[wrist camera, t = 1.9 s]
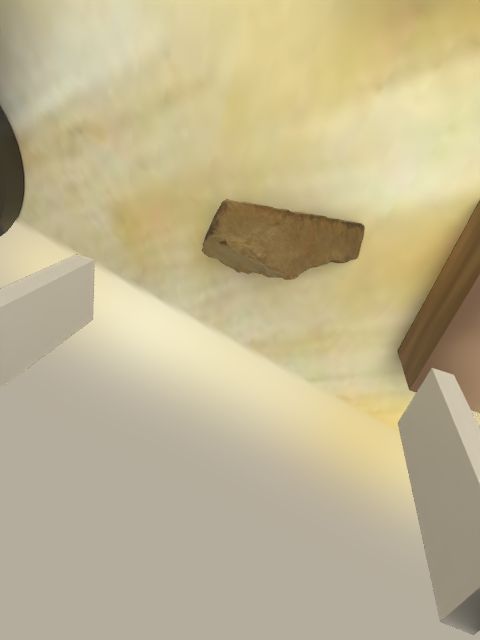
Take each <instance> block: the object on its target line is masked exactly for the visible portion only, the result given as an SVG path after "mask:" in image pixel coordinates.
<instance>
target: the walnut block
mask: <svg viewBox="0 0 480 640" xmlns="http://www.w3.org/2000/svg"><path fill="white" fill-rule="evenodd" d="M398 353H399V357H400V360H401V363H402V367H403V370H404V374H405V377H406V380H407V384H408V387H409V390H411V391H414V392H417V391H418V389H419V388H420V386H421V385H422V383H423V381H424V380H425V378H426V377H427V375H428V373H429V372H430V370H431V368H434V369H437V370H440V371H443V372H446V373H450V374H453V375H454V376H455V378H456V380H457V382H458V384H459V386H460V389H461V391H462V393H463V395H464V397H465V399H466V401H467V403H468V405H469V407H470V409H471V410H473V411H476V412H479V413H480V202H479V204H478V205H477V207H476V209H475V211H474V213H473V215H472V216H471V218H470V220H469V222H468V224H467V226H466V227H465V229H464V231H463V233H462V235H461V237H460V238H459V240H458V242H457V244H456V246H455V247H454V249H453V251H452V253H451V255H450V257H449V258H448V260H447V262H446V264H445V266H444V268H443V269H442V271H441V273H440V275H439V277H438V279H437V280H436V282H435V284H434V286H433V288H432V289H431V291H430V293H429V295H428V297H427V299H426V300H425V302H424V304H423V306H422V308H421V310H420V311H419V313H418V315H417V317H416V319H415V321H414V322H413V324H412V326H411V328H410V330H409V331H408V333H407V335H406V337H405V339H404V341H403V342H402V344H401V346H400V348H399V350H398Z"/></svg>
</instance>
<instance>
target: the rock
mask: <svg viewBox="0 0 480 640" xmlns="http://www.w3.org/2000/svg"><path fill="white" fill-rule="evenodd" d="M363 235H364V225H362V224H360V223H356V222H348V221H343V220H338V219H332V218H327V217H325V216H318V215H313V214H306V213H301V212H291V211H289V210H285V209H276V208H273V207H269V206H262V205H256V204H251V203H247V202H239V201H233V200H228V199H226V200H225V201H223V202H222V204H221V205H220V207H219V209H218V211H217V213H216V214H215V216H214V218H213V221H212V223H211V225H210V228H209V230H208V232H207V234H206V237H205V240H204V243H203V249H202V251H203V252H204V254H206V255H207V256H209V257H214V258H217V259H219V260H220V262H222V263H223V264H225V265H226V266H229V267H231V268H233V269H235V270H236V271H237V272H244V273H247V274H248V273H252V272H255V273H259V274H263V275H265V276H267V277H280V278H281V277H283V278H284V279H295V278H297V277H298V275H299V274H301V273H302V272H304V271H305V270H307V269H309V268H311V267H318V266H321V265H324V264H327V263H329V262H336V263H344V262H348V261H349V260H353V259H357V258H358V255H359V251H360V247H361V243H362V240H363Z"/></svg>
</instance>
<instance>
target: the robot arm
mask: <svg viewBox="0 0 480 640" xmlns="http://www.w3.org/2000/svg"><path fill="white" fill-rule="evenodd" d="M22 198H23V169H22V163H21V158H20V153H19V150H18V146H17V143H16V140H15V137H14V134H13V132H12V129H11V127H10V125H9V123H8V121H7V119H6V117H5V115H4V113H3V111H2V109H1V107H0V236H1V235H3V234H4V233H5V232H6V231H8V229H9V228H10V227H11V226H12V225H13V223H14V221H15V220H16V218H17V216H18V213H19V210H20V207H21V203H22ZM94 261H95V260H93V259H90V258H87V257H84V256H81V255H78V254H76V255H74V256H72V257H69V258H67V259H65V260H63V261H61V262H58V263H56V264H54V265H51V266H50V267H47V268H45V269H43V270H40V271H38V272H36V273H34V274H31V275H29V276H27V277H25V278H22V279H20V280H18V281H16V282H14V283H11V284H9V285H7V286H5V287H3V288H0V389H1V388H2V387H3V386H5V385H6V384H7V383H9V382H10V381H11V380H13V379H14V378H15V377H16V376H18V375H19V374H21V373H22V372H23V371H25V370H26V369H27V368H29V367H30V366H31V365H33V364H34V363H36V362H37V361H38V360H40V359H41V358H42V357H44V356H45V355H46V354H48V353H49V352H50V351H52V350H53V349H54V348H56V347H57V346H58V345H60V344H61V343H62V342H64V341H65V340H66V339H68V338H69V337H70V336H72V335H73V334H74V333H76V332H77V331H78V330H80V329H81V328H82V327H84V326H85V325H87V324H88V323H89V322H91V321H92V320H93V298H94V297H93V296H94ZM398 426H399V431H400V436H401V440H402V445H403V450H404V455H405V459H406V464H407V468H408V473H409V478H410V482H411V487H412V492H413V497H414V502H415V506H416V511H417V516H418V520H419V525H420V530H421V534H422V539H423V544H424V549H425V553H426V558H427V563H428V567H429V571H430V577H431V581H432V586H433V591H434V595H435V600H436V605H437V610H438V614H439V619H440V622H442V623H444V624H447V625H450V626H452V627H455V628H457V629H460V630H462V631H465V632H467V633H470V634H473V635H474V634H476V633H477V632H478V631H479V630H480V427H479V425H478V423H477V421H476V419H475V417H474V415H473V413H472V411H471V409H470V407H469V405H468V403H467V401H466V399H465V397H464V395H463V393H462V391H461V389H460V386H459V384H458V382H457V380H456V378H455V376H454V375H453V374H450V373H446V372H443V371H440V370H437V369H434V368H431V370H430V372H429V373H428V375H427V377H426V378H425V380H424V381H423V383H422V385H421V386H420V388H419V389H418V391H417V393H416V394H415V396H414V397H413V399H412V401H411V402H410V404H409V406H408V407H407V409H406V410H405V412H404V414H403V415H402V417H401V418H400V420H399V422H398Z"/></svg>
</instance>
